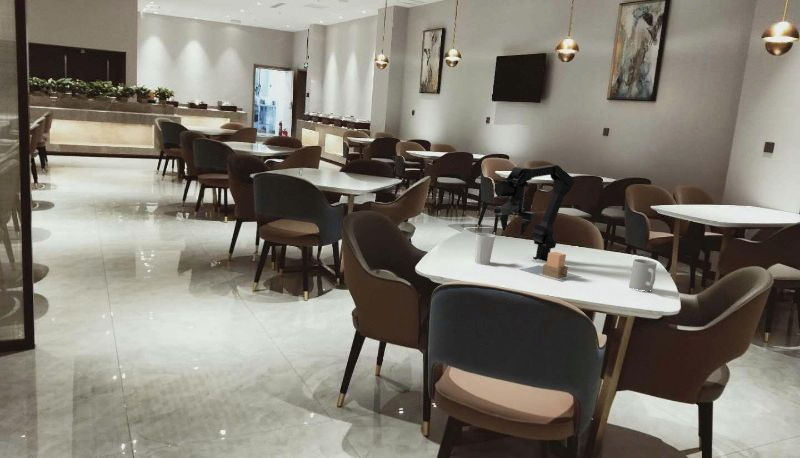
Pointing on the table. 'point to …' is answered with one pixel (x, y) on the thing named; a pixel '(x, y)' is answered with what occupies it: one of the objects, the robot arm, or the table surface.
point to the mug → (643, 274)
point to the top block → (556, 259)
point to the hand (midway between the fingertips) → (512, 232)
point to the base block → (554, 271)
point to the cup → (484, 248)
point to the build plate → (538, 271)
